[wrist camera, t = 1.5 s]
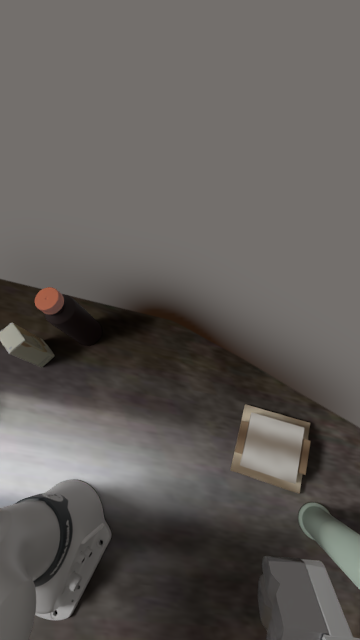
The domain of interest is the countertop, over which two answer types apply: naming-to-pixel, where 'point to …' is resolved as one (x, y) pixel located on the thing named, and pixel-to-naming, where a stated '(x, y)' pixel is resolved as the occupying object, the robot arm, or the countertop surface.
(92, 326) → the bottle
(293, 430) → the stand
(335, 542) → the sage vase
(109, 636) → the countertop surface
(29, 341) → the skincare box
